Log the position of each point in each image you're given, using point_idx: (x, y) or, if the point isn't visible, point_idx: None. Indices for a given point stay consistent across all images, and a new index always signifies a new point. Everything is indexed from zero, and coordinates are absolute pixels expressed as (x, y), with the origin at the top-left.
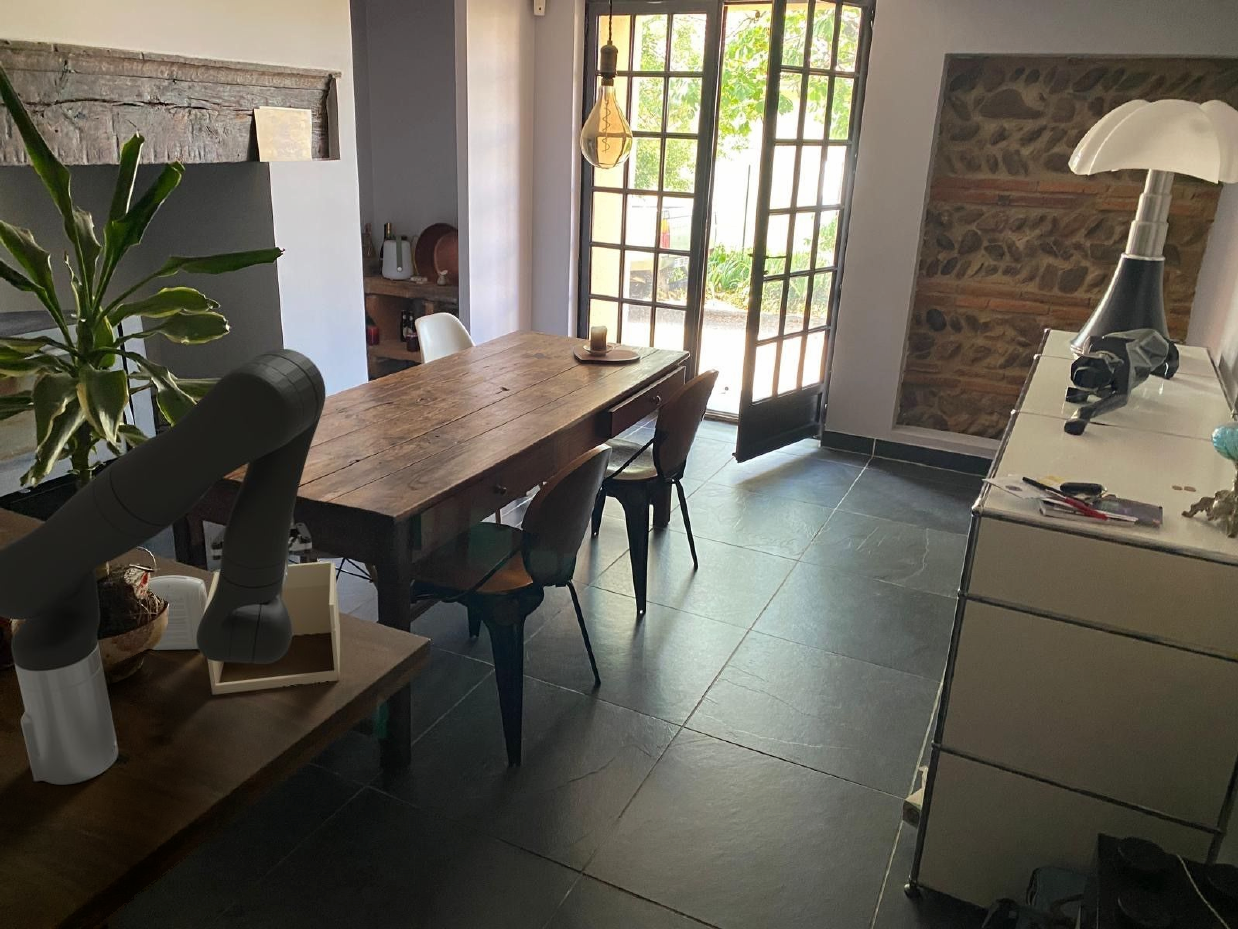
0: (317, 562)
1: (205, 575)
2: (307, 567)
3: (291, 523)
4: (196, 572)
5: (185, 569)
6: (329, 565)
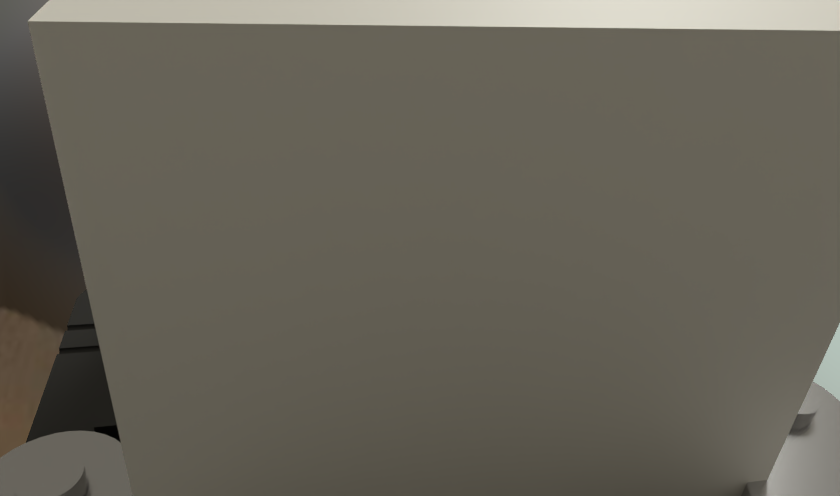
0: None
1: (57, 340)
2: None
3: (834, 406)
4: (32, 327)
5: (3, 314)
6: None
